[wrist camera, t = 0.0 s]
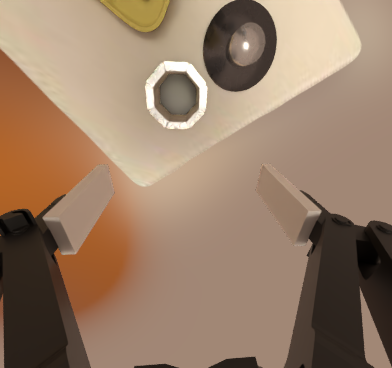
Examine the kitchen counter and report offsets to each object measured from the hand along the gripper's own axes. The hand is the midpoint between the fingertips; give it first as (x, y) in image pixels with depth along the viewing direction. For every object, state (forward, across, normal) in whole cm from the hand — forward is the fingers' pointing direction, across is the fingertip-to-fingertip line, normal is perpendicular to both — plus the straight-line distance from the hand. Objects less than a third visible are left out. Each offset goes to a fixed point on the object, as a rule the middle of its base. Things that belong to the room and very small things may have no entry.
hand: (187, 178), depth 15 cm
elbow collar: (+28, -1, +5) cm, 29 cm away
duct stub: (+28, +11, +13) cm, 33 cm away
